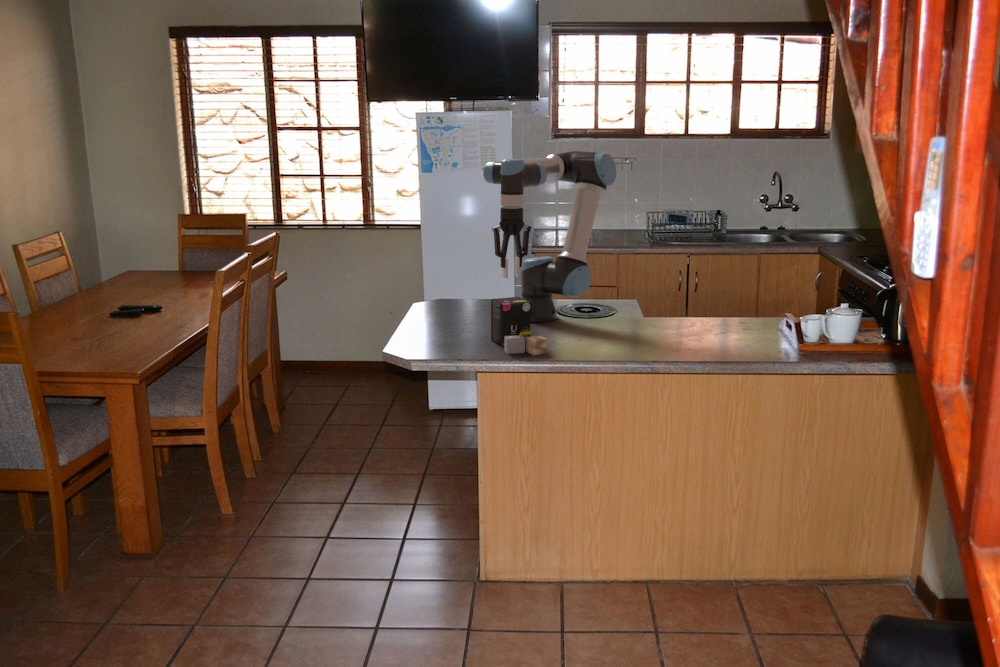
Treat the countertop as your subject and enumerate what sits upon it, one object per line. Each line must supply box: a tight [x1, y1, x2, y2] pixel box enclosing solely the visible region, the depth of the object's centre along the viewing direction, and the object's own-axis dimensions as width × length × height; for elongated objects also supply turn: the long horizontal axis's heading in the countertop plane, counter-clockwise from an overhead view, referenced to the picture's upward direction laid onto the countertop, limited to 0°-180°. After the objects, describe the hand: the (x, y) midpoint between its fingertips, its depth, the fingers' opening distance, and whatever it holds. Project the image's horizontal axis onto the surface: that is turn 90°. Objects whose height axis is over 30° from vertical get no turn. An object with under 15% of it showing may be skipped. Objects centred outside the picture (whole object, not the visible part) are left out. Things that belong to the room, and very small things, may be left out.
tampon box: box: [490, 296, 531, 347], centre depth 304 cm, size 11×9×15 cm
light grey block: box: [503, 335, 526, 355], centre depth 293 cm, size 6×4×5 cm, turn 101°
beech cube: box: [525, 335, 548, 356], centre depth 292 cm, size 5×5×5 cm
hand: (511, 276), depth 300 cm, fingers open, 3 cm apart
